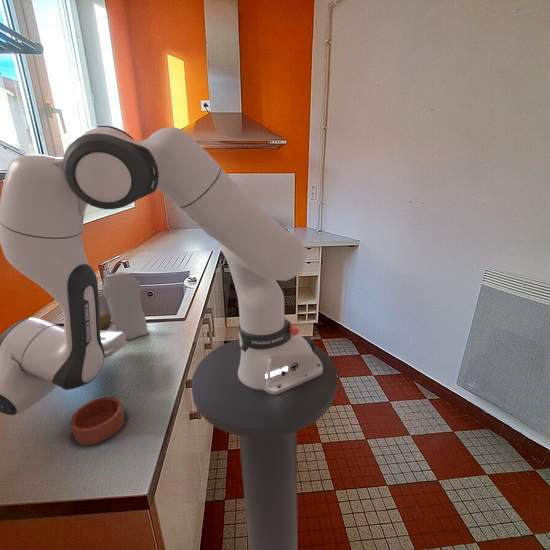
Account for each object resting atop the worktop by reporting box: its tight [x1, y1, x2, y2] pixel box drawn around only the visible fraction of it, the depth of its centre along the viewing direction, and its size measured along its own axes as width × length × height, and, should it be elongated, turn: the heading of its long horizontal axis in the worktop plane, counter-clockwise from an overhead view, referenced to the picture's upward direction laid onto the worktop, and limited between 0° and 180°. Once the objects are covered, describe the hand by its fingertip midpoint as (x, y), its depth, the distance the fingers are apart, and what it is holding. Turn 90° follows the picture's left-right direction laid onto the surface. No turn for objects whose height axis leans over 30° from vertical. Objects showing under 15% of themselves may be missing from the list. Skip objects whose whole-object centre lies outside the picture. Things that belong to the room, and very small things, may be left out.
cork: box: [99, 311, 112, 330], centre depth 83 cm, size 6×6×11 cm
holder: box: [69, 396, 125, 446], centre depth 63 cm, size 9×9×4 cm
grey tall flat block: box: [101, 271, 149, 340], centre depth 95 cm, size 11×4×22 cm, turn 111°
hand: (104, 326), depth 84 cm, fingers closed on cork, 4 cm apart
